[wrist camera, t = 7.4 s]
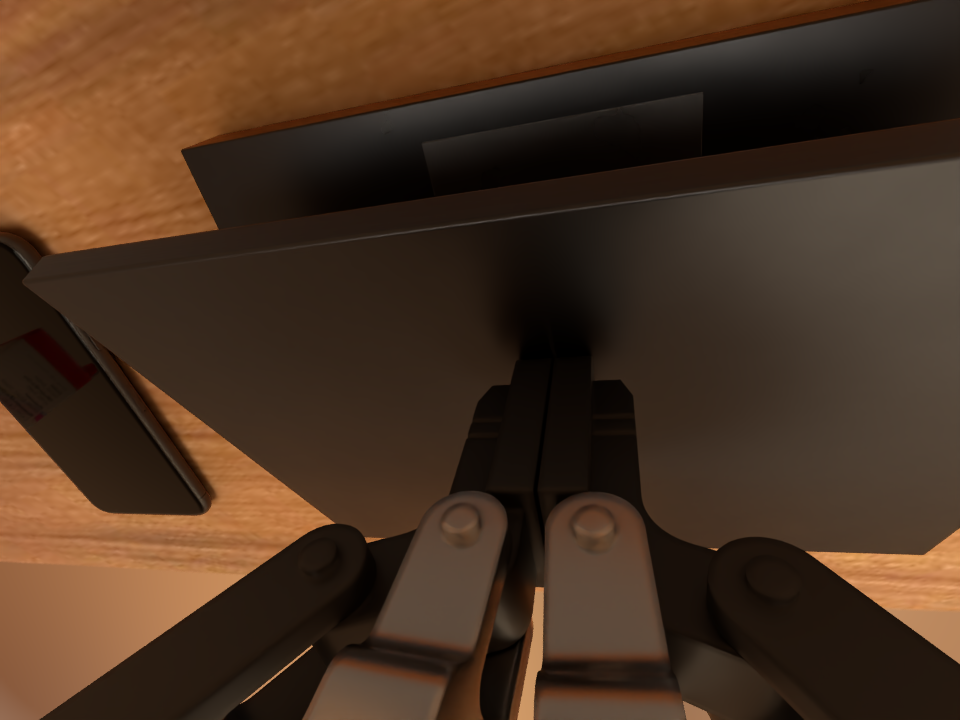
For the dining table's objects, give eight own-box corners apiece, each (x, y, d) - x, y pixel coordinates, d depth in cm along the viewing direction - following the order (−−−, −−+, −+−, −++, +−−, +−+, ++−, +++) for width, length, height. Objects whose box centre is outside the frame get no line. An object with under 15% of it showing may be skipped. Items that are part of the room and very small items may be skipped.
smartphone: (223, 505, 27) (28, 223, 19) (213, 518, 26) (6, 232, 18) (110, 503, 29) (-112, 247, 20) (98, 515, 28) (-136, 256, 20)
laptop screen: (45, 250, 11) (17, 282, 10) (1482, 29, 5) (1578, 72, 5) (357, 516, 22) (352, 537, 22) (914, 527, 17) (925, 555, 16)
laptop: (218, 135, 16) (176, 150, 14) (1058, -39, 10) (1138, -45, 9) (372, 484, 24) (357, 518, 22) (889, 485, 18) (915, 530, 17)
